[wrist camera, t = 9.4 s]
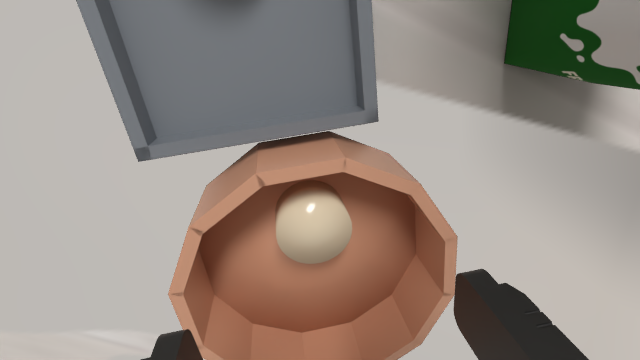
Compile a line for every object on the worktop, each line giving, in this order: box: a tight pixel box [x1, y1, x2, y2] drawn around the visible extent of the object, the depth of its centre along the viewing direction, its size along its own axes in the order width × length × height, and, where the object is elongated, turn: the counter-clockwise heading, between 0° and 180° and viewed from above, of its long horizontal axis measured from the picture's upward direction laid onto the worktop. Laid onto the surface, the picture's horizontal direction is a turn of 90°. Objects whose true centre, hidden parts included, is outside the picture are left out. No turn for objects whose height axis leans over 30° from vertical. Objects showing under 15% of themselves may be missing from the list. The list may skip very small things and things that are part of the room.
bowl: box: [168, 131, 457, 360], centre depth 24 cm, size 18×18×6 cm
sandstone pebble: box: [275, 180, 352, 264], centre depth 23 cm, size 5×5×3 cm
